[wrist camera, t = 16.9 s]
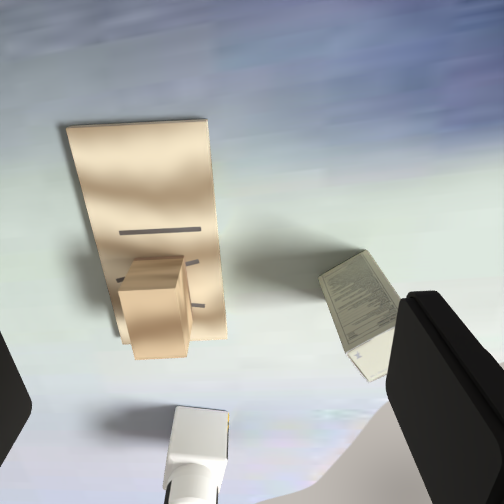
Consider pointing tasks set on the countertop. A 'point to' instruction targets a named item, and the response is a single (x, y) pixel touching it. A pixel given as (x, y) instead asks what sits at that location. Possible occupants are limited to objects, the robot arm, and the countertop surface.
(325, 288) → the skincare box
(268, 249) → the countertop surface
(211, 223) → the board
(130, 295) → the block
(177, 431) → the medicine bottle
